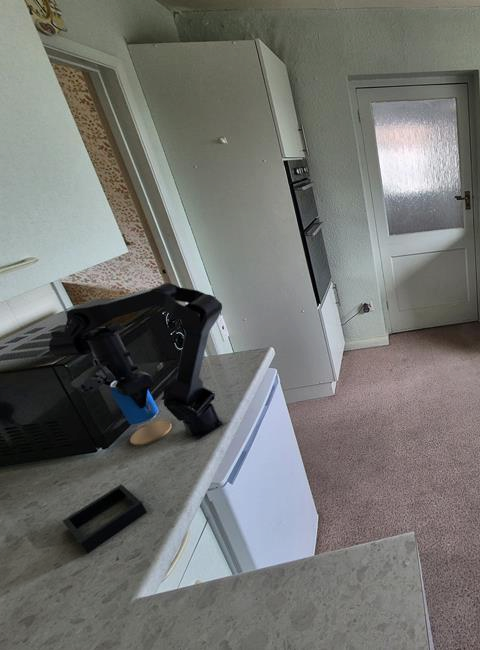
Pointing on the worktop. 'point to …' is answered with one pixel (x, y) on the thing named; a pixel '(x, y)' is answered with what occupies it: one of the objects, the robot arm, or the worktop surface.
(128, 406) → the beverage can
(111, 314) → the robot arm
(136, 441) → the coaster
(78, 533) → the black rectangular open frame
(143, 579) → the worktop surface
